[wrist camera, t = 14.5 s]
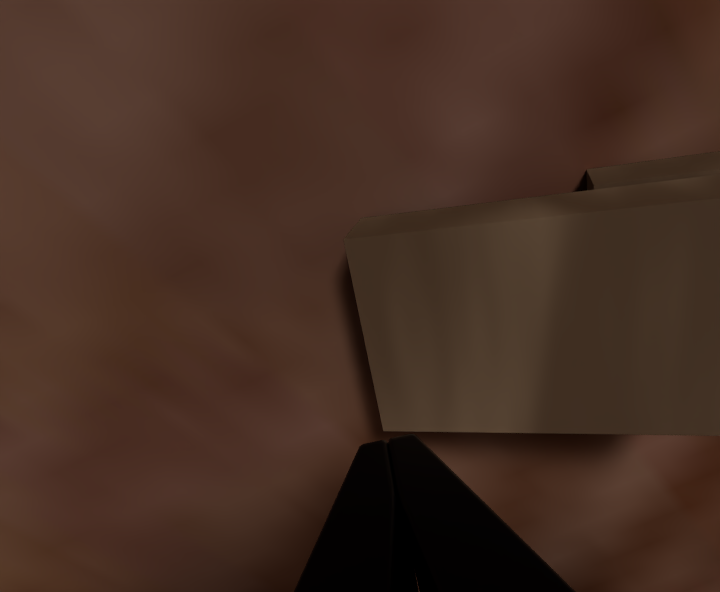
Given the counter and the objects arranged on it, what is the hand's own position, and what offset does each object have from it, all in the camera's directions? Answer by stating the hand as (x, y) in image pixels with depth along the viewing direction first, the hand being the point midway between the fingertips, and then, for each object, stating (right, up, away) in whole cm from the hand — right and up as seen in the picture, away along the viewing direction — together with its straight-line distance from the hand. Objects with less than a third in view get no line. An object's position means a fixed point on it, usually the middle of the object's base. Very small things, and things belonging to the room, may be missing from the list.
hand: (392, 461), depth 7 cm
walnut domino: (0, +2, +4) cm, 5 cm away
